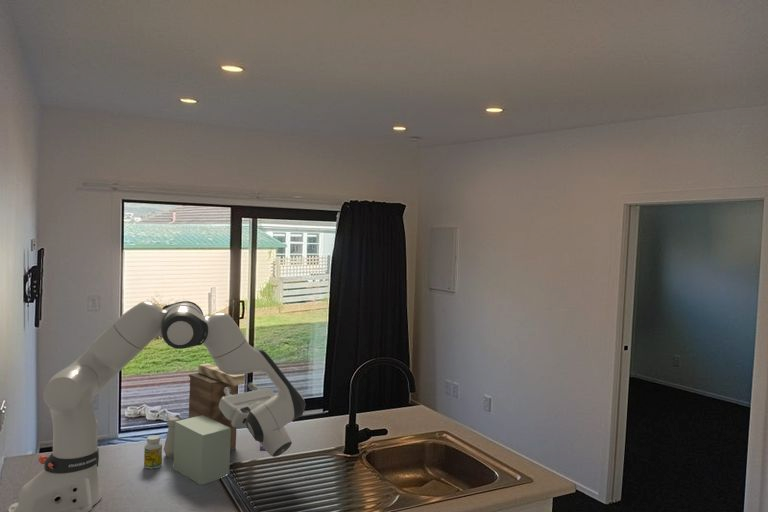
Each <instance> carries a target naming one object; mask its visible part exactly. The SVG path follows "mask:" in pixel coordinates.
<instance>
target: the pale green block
mask: <svg viewBox="0 0 768 512" xmlns="http://www.w3.org/2000/svg"><path fill="white" fill-rule="evenodd" d="M230 440H231V428H230V427H228V426H225V425H223V424H221V423H219V422H216V421H214V420H212V419H210V418H208V417H205V416H203V415H201V416H197V417H193V418H189V417H188V418H185V419H180V420H179V421H175V435H174V457H173V466H172V467H173V469H174V470H176V471H177V472H178V473H180V474H182V475H183V476H185V477H187V478H188V479H190V480H192V481H194V482H195V483H197V484H198V485H199V486H202V485H205V484H209V483H211V482H214V481H218V480H220V478H221V477H223V476H225V475H226V474H229V475H230V461H231V460H230V459H231V450H230ZM221 479H222V478H221Z"/></svg>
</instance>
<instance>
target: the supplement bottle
mask: <svg viewBox="0 0 768 512" xmlns="http://www.w3.org/2000/svg"><path fill="white" fill-rule="evenodd" d="M160 441H161V436H159V435H154V434H153V435H149V436H148V437H147V438H146V443H145V445H144V448H143V449H144V451H143V452H144V454H143V455H144V456H143V462H144V463H143V467H144V468H145V469H147V468H155V469H158V468H160V467H161V466H162V459H163V458H162V457H163V443H161V442H160ZM159 466H160V467H159ZM157 467H158V468H157Z"/></svg>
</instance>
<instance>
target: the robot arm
mask: <svg viewBox="0 0 768 512" xmlns="http://www.w3.org/2000/svg"><path fill="white" fill-rule="evenodd" d="M158 337H162V340H163V341H164V342H165V344H166V345H168V346H170V348H173V349H176V350H177V349H178V350H179V349H180V350H181V349H187V348H191V347H196V346H197V347H198V346H202V345H203V344H204V346H205V347H206V349H207V351H208V353H209V355H210V356H211V359H212V360H213V362H214V364H215V366H217V367H218V368H219V369H220V370H221V371H222V372H224V373H226V374H230V375H241V374H242V375H246V374H251V373H256V372H257V373H259V372H260V373H264V374H266V376H268V378H269V380H270V381H271V382H272V384H273V385H274V386H275V387H276V388H277V393H276V394H275V393H274V390H273V389H271V388H269V387H265V388H262V389H261V387H259V386H257V385H255V384H254V382H248V383H247V387H246V388H248V390H249V391H246V392H242V393H240V392H239V393H238V394H235V395H232V394H230V391H231V389H230V387H225V388H224V392H225V394H226V396H225V397H222V398H221V400H220V402H219V409H220V410H221V412H222V413H223V415H224V416H225V417H226V418H227V419H228V420H230V421H232V422H231V425H232V426H233V427H236V428H239V429H240V428H241V429H242V428H243V429H247V430H248V432H249V433H250V435H252V438H253V439H254V440H255V441H256V442H259V445H260V444H261V445H262V446H263V448H264V449H265V450H264V451H266V452H267V453H268V454H269V455H270V456H271V457H275V458H276V457H279V456H280V455H282V454H283V453H285V452H286V451H288V449H289V448H290V447H291V445H292V443H293V442H292V438H291V437H290V435H289V433H288V431H287V430H286V428H285V426H287V424H289V423H290V422H293V421H295V420H297V419H298V418H300V417H303V415H304V412H305V408H306V404H307V403H306V402H305V398H304V397H303V395H302V394H301V393H300V392H299V391H298V390H297V388H295V387H294V386H293V384H292V383H291V382H290V381H289V380H288V378H287V377H286V375H285V374H284V373H283V371H282V370H281V368H279V366H278V365H277V363H275V362H274V360H273V359H272V357H270V355H269V354H268V353H267V352H266V351H264V350H263V349H262V348H255V347H254V346H252V345H251V344H250V343H249V342H248V340H247V339H246V337H245V335H244V333H243V331H242V330H241V328H240V327H239V326H238V324H237V323H236V321H235V320H234V319H233V318H232V316H231V315H230V314H228V313H227V312H216V313H213V314H211V315H204V313H203V310H202V308H201V307H200V306H199V305H198V304H196V303H195V302H193V301H189V300H183V301H177V302H174V303H170V304H166V305H164V306H163V307H162V308H161V307H160V306H159V305H157V304H156V303H154V302H152V301H141V302H139V303H138V304H136V305H134V306H133V307H132V308H129V309H128V310H127V311H126V312H124V313H123V314H122V315H121V316H119V317H118V318H117V319H116V320H115V321H114V322H112V324H110V325H109V327H107V329H105V330H104V331H103V332H102V333H101V334H100V335H99V336H97V337H96V339H94V340H93V341H92V343H91V344H90V345H89V346H88V347H87V348H86V350H84V352H82V354H81V355H79V357H77V358H76V359H75V360H74V361H73V362H72V363H71V364H69V365H68V366H66V367H65V368H63V369H61V370H60V371H58V372H56V373H55V374H54V375H53V376H52V377H51V378H50V379H49V381H48V382H47V383H46V385H45V386H44V389H43V394H42V397H43V401H44V403H45V405H46V406H47V407H48V408H49V413H50V416H51V423H52V453H50V455H49V456H47V455H45V454H42V455H40V456H39V457H38V459H37V460H38V462H39V463H40V464H41V465H43V466H44V467H43V470H41V471H40V472H38V474H36V475H35V476H34V477H33V478H32V479H30V480H29V481H28V482H27V483H25V484H24V485H23V486H22V487H21V489H20V492H19V497H18V501H17V502H15V503H12V504H10V506H9V507H8V510H7V512H90V511H91V510H92V509H93V506H94V505H95V504H97V503H98V502H99V501H100V500H101V499H102V496H103V494H102V490H101V487H100V483H99V475H98V467H99V463H100V462H99V461H100V452H99V447H98V432H99V431H98V429H99V428H98V427H99V421H98V419H97V418H96V416H95V411H94V405H93V402H94V398H95V395H96V394H98V393H99V392H100V391H101V390H102V389H103V388H104V387H106V386H107V384H108V383H110V381H111V380H113V378H115V376H116V375H117V374H119V373H120V371H121V370H122V369H124V368H125V367H126V366H127V365H128V364H129V363H130V362H132V360H133V359H134V358H135V357H136V356H138V354H140V353H141V351H143V350H144V349H145V348H146V347H147V346H148V345H150V343H151V342H152V341H154V339H156V338H158Z"/></svg>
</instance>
